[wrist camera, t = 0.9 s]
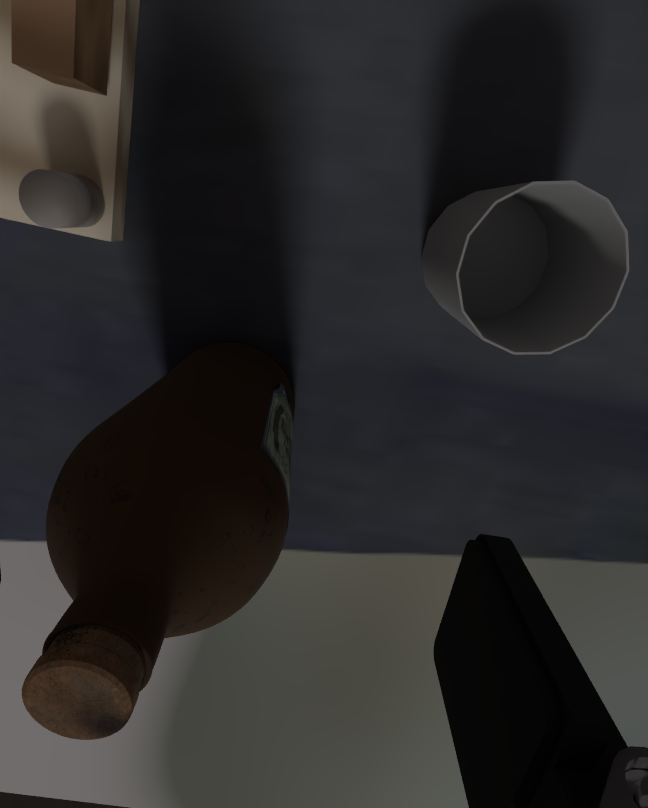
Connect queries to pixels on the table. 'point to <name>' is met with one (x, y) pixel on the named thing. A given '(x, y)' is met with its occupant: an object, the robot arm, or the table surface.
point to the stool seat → (68, 139)
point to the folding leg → (63, 41)
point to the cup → (528, 264)
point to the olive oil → (162, 530)
